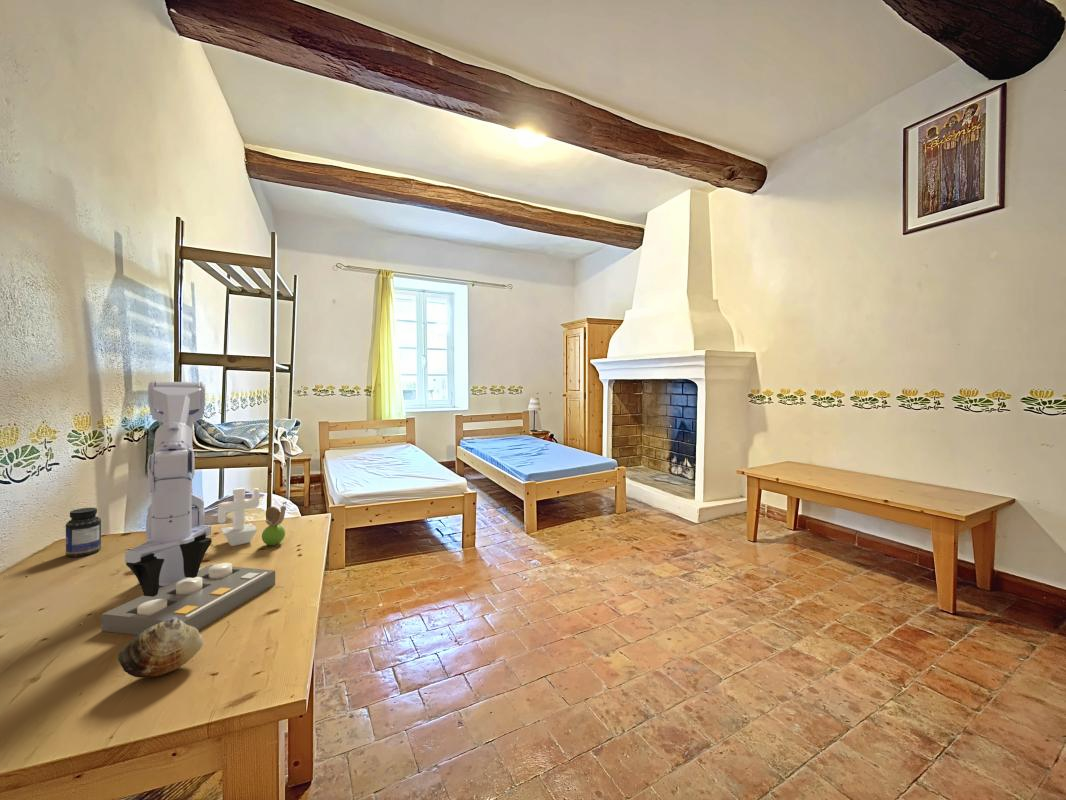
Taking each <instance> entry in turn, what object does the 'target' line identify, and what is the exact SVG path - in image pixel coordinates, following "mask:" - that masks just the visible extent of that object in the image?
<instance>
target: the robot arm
mask: <svg viewBox="0 0 1066 800" xmlns="http://www.w3.org/2000/svg"><path fill="white" fill-rule="evenodd" d="M147 404H148V408H149V413H150V415H151V417H152V420H154V421H157V422H159V423H162V425H160V426H159V427H158V428H157V429H156V430H155V433H154V442H153V451H152V454H150V453H149V455H148V459H147V478H148V481H149V493H151V503H150V504H149V506H148V507H147V515H146V519H145V537H146V540H147V541H145V542H143V543H141V544H139V545H137V546H135V547H133V548H131V549H128V550H125V551H124V555H125V556H124V562H125V563H126V566H127V567H128V568H129V569H130V571H131V572H132V573H133V574H134V575H135V577H136V579H137V582H136V583H137V584H139V585H140V589H141V591H142V593H143V595H144V596H150V597H154V596H156V595H157V594H158V590H159V588H160V587H163V586H165V585H167V584H169V583H171V582H174V581H176V580H178V579H180V578H182V577H189V578H195V577H197V574H198V571H199V570H200V569H201V568H200V567H201V564H202V561H203V559H204V556H205V554H206V552H207V551H208V549H209V547H210V546H211V544H213V543H212V542H213V539H212V537H209V536H211V535H212V525H209V524H208V525H207V524H205V518H206V515H205V501H204V500H203V498H202V497H201V496H198V495H196V494H194V493H192V489H193V487H192V483H193V481H192V479H194V476H195V464H196V463H195V461H196V459H195V451H194V445H193V436H194V435H193V433H194V432H193V429H192V427H193V425H194V423H195V422H197V421H200V420H202V419H203V418H204V415H205V407H206V384H205V383H204V382H203V381H199V382H195V381H156V380H151V381H150V382H149V383H148V388H147ZM190 474H191V477H190Z"/></svg>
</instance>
